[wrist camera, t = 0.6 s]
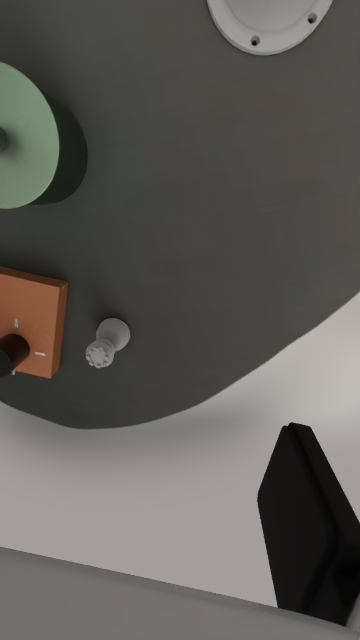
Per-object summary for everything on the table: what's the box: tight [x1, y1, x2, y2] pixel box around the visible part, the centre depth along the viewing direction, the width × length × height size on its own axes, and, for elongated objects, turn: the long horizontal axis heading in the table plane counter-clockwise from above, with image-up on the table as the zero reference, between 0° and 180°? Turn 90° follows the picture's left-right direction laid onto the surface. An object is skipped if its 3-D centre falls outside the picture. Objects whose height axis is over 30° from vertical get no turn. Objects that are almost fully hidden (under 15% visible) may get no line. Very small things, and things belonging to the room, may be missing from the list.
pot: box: [28, 92, 87, 205], centre depth 35 cm, size 11×11×8 cm
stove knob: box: [0, 334, 30, 378], centre depth 42 cm, size 4×4×5 cm
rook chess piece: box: [86, 318, 130, 368], centre depth 42 cm, size 4×4×8 cm
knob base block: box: [0, 266, 69, 378], centre depth 44 cm, size 14×10×3 cm
